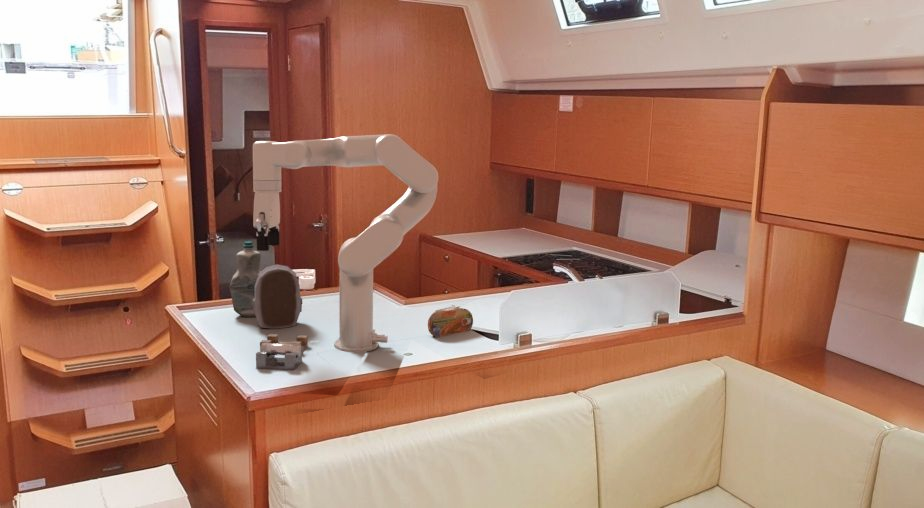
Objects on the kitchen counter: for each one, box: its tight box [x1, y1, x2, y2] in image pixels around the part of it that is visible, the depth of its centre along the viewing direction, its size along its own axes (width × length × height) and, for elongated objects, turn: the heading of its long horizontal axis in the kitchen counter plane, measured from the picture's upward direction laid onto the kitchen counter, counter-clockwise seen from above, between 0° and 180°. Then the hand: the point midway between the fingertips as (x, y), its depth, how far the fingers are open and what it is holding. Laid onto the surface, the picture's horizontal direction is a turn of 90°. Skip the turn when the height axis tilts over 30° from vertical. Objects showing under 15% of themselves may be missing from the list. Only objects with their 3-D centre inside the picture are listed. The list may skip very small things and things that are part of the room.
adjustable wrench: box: [434, 304, 461, 312], centre depth 256 cm, size 25×6×2 cm, turn 155°
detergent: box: [229, 240, 262, 318], centre depth 245 cm, size 13×7×25 cm, turn 112°
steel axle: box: [259, 343, 301, 356], centre depth 199 cm, size 10×3×3 cm, turn 87°
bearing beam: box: [259, 333, 309, 352], centre depth 213 cm, size 11×8×3 cm
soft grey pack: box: [253, 264, 303, 330], centre depth 235 cm, size 15×8×20 cm, turn 109°
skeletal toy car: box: [292, 268, 316, 290], centre depth 287 cm, size 20×11×7 cm, turn 112°
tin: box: [427, 307, 474, 338], centre depth 230 cm, size 15×3×8 cm, turn 123°
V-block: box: [255, 347, 303, 371], centre depth 199 cm, size 10×7×4 cm
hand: (268, 247), depth 212 cm, fingers open, 9 cm apart
